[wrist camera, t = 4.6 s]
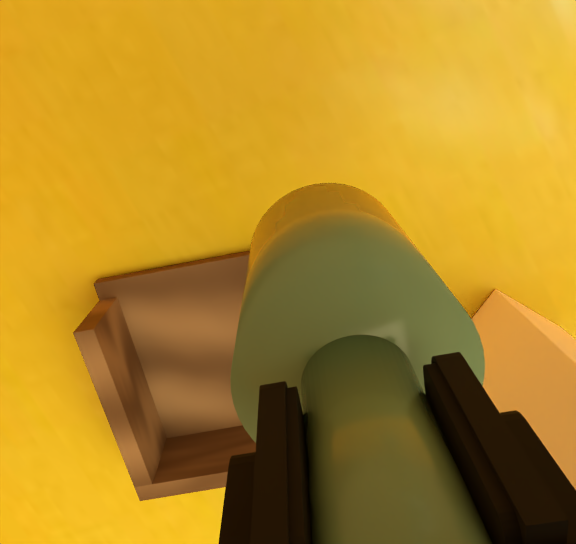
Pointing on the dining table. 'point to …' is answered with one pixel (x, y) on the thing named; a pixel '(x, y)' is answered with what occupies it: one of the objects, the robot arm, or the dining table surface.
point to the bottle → (357, 366)
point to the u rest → (169, 371)
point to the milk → (531, 373)
